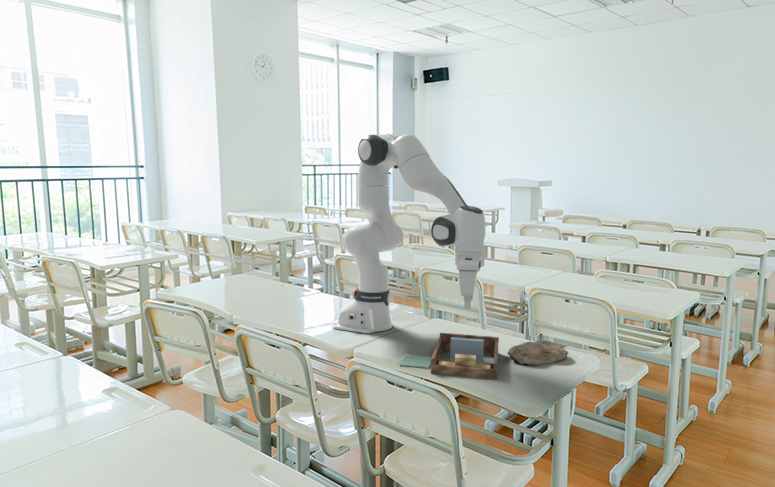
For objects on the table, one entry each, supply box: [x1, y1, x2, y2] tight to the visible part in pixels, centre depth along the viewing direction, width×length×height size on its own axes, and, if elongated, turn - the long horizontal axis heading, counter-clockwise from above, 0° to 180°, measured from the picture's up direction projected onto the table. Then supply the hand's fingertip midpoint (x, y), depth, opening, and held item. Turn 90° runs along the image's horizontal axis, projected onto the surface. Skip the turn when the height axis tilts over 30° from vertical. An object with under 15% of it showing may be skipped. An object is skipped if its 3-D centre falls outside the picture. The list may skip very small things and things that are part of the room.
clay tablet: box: [507, 339, 569, 366], centre depth 174 cm, size 14×5×20 cm
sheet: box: [449, 337, 484, 363], centre depth 170 cm, size 10×2×7 cm, turn 78°
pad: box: [399, 354, 432, 369], centre depth 169 cm, size 9×9×1 cm
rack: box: [430, 332, 500, 380], centre depth 168 cm, size 19×22×6 cm
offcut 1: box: [439, 361, 455, 366], centre depth 162 cm, size 6×3×2 cm, turn 78°
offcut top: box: [455, 354, 476, 367], centre depth 161 cm, size 6×3×2 cm, turn 81°
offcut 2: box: [469, 364, 491, 369], centre depth 160 cm, size 6×3×2 cm, turn 75°
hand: (468, 303), depth 168 cm, fingers open, 8 cm apart
